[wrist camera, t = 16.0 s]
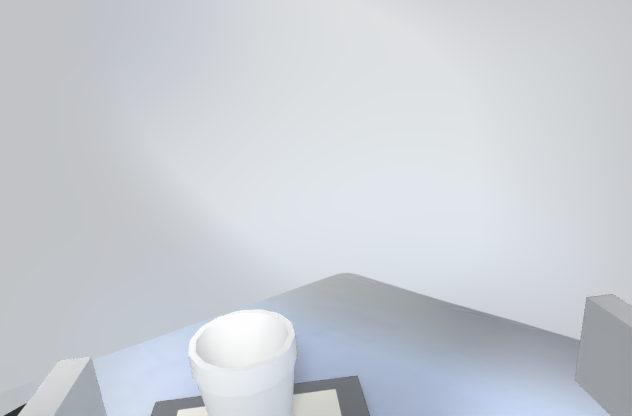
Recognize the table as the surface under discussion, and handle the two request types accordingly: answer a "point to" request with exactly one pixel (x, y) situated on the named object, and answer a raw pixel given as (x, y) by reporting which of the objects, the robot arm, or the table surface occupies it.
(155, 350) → the table surface
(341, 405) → the picture frame
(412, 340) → the table surface
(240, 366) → the foam cup
